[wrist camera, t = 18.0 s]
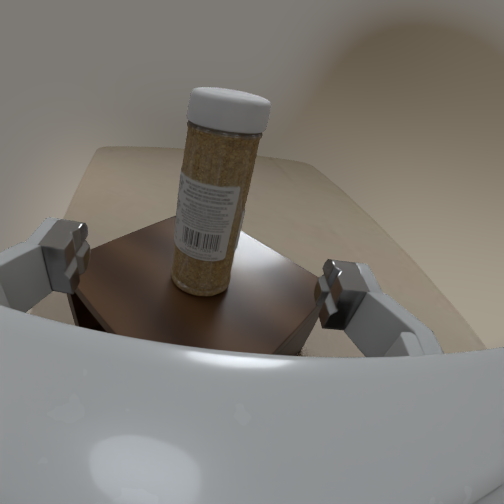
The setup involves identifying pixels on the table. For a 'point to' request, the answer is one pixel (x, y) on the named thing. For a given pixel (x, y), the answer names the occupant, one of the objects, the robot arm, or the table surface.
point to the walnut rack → (196, 297)
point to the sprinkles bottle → (215, 185)
